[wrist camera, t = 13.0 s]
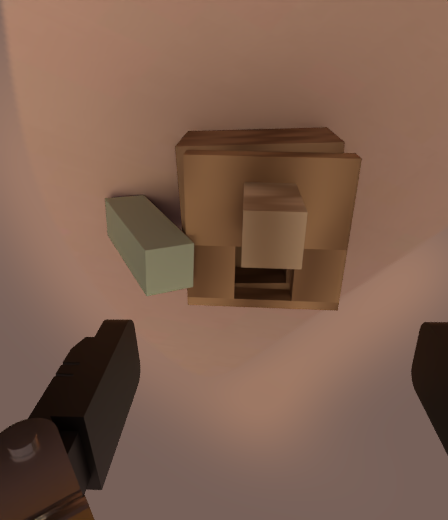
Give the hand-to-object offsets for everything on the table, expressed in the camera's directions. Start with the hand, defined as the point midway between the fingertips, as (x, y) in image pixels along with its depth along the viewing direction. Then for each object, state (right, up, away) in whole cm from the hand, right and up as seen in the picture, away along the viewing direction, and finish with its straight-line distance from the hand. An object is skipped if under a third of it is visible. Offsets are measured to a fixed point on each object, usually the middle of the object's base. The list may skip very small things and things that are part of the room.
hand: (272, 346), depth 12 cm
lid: (+1, +4, +15) cm, 16 cm away
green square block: (-5, +2, +13) cm, 14 cm away
